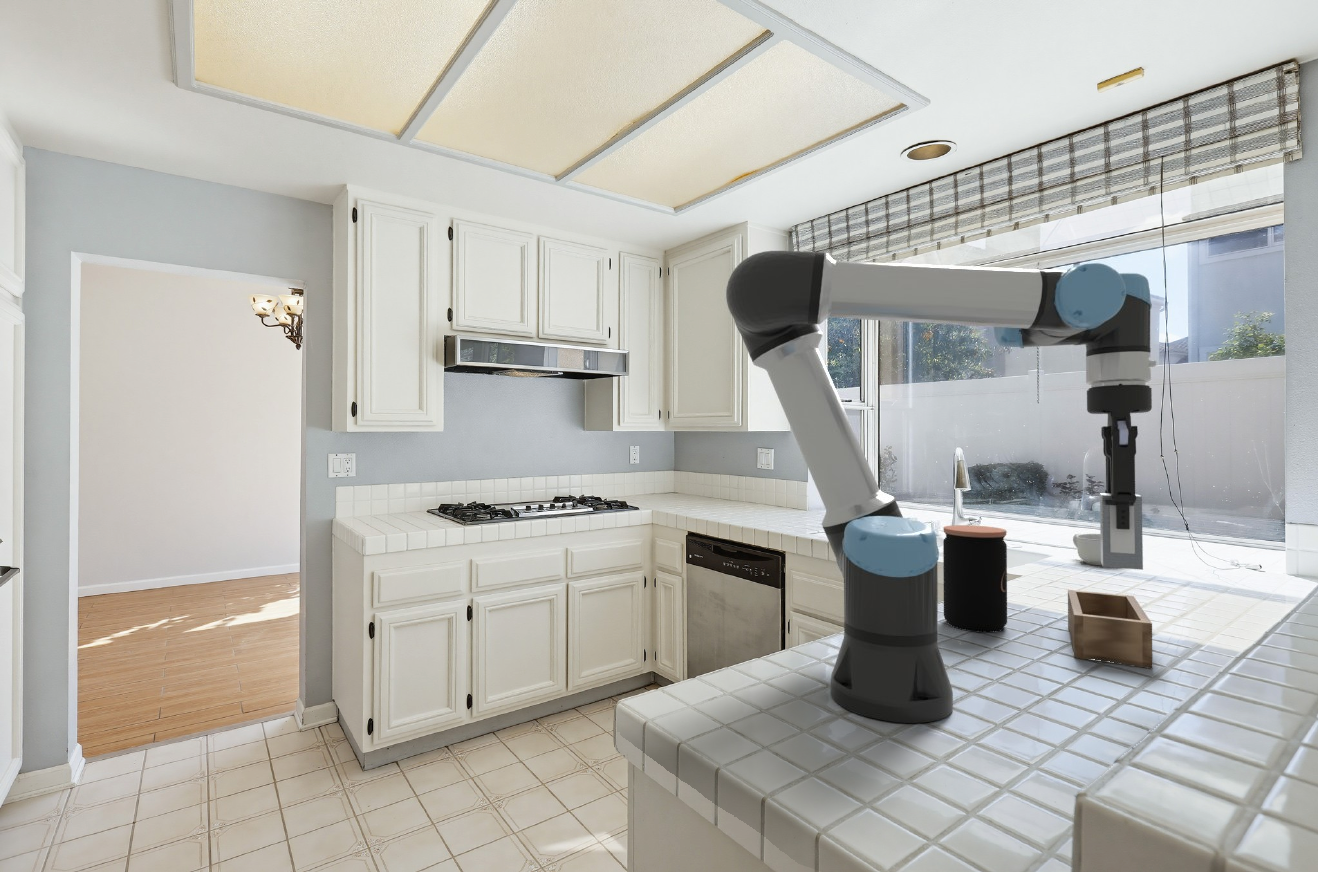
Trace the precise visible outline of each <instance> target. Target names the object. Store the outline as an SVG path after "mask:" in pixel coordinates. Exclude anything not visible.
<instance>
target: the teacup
mask: <svg viewBox="0 0 1318 872" xmlns="http://www.w3.org/2000/svg"><path fill="white" fill-rule="evenodd" d="M1072 542H1073V545H1074V546H1075V547H1076V550H1077V554H1078V557H1079V558H1080V559H1081V560H1082V561H1083V562H1085V563H1086V564H1088V565H1094V566H1102V567H1103V565H1102V563H1101V536H1100V533H1076V534H1074V535H1073V537H1072Z"/></svg>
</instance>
